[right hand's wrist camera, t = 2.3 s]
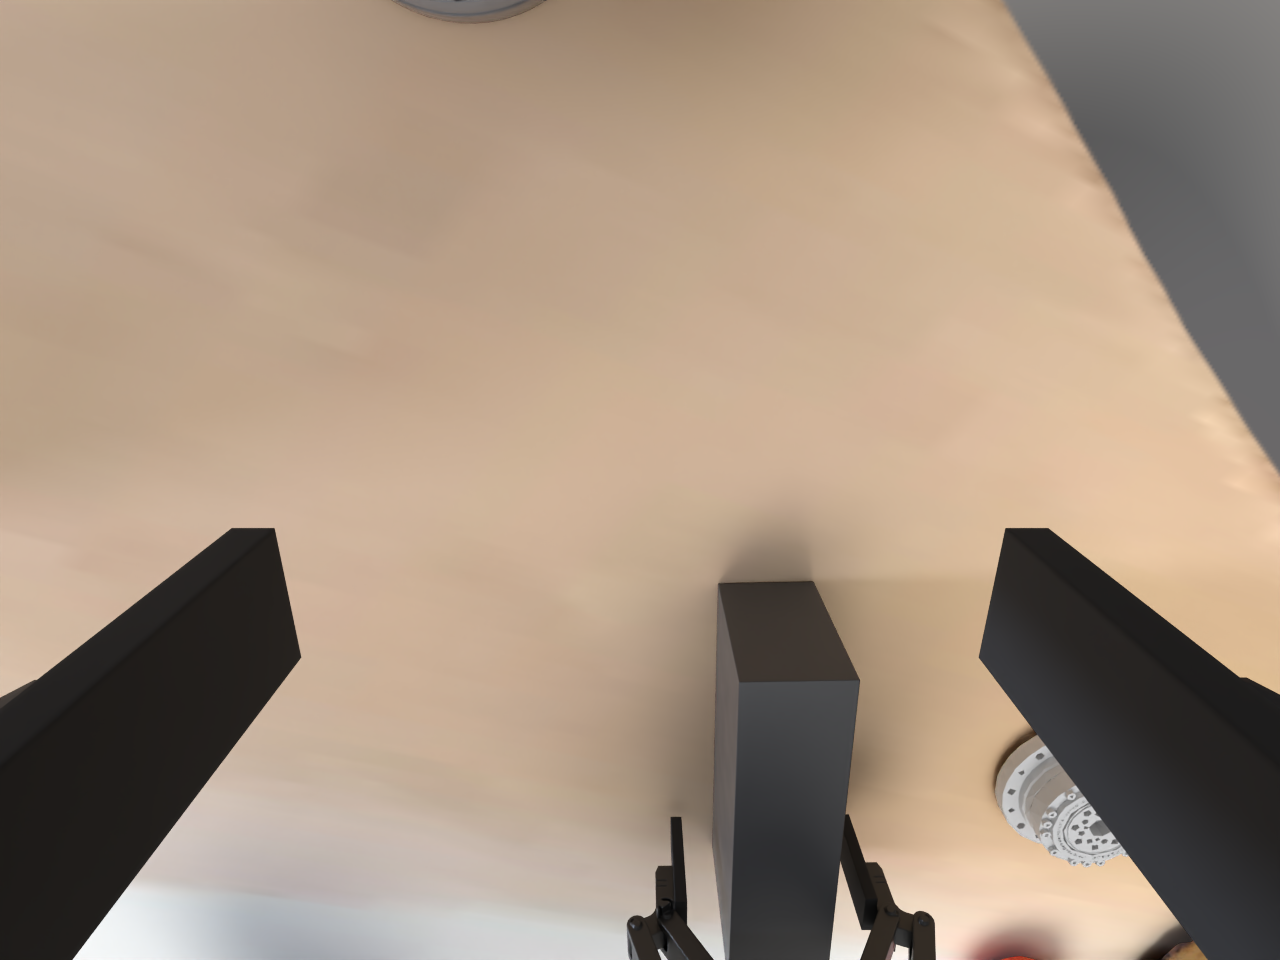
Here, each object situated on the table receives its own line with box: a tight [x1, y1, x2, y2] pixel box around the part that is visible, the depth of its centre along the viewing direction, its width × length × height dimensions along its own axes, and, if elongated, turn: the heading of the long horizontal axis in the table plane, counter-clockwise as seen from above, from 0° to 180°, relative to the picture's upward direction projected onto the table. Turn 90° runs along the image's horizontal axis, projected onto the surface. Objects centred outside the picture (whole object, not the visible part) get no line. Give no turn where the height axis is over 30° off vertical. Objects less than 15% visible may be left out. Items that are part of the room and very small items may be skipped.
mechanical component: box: [995, 735, 1129, 867], centre depth 48 cm, size 10×4×10 cm
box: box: [712, 582, 860, 960], centre depth 44 cm, size 22×6×10 cm, turn 1°
